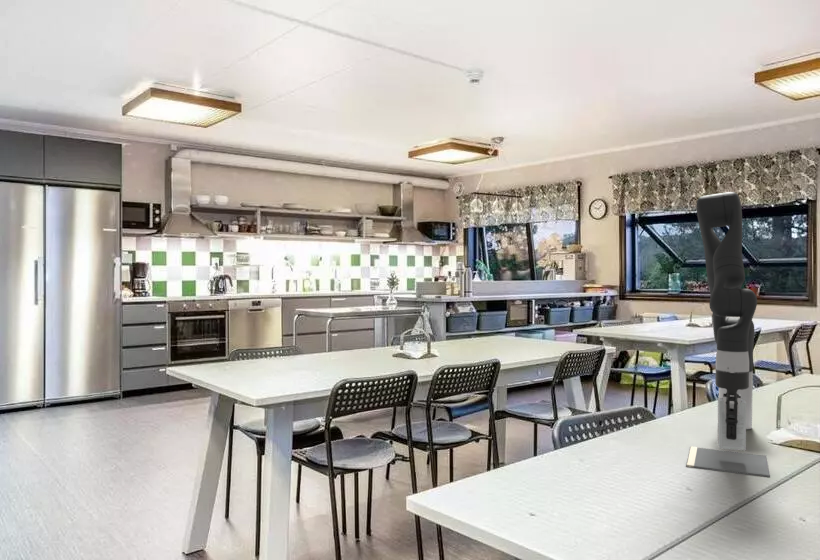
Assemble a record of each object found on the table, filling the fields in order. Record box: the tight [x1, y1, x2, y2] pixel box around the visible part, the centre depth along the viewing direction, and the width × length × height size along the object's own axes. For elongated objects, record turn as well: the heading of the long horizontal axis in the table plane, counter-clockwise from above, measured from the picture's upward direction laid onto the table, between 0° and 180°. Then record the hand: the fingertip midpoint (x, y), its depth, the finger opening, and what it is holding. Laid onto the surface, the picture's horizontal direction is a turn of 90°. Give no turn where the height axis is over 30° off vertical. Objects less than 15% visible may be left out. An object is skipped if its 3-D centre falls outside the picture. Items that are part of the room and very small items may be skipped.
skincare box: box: [717, 397, 747, 451], centre depth 163 cm, size 6×4×12 cm
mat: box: [685, 446, 771, 478], centre depth 163 cm, size 18×18×1 cm
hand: (731, 436), depth 163 cm, fingers closed on skincare box, 4 cm apart
